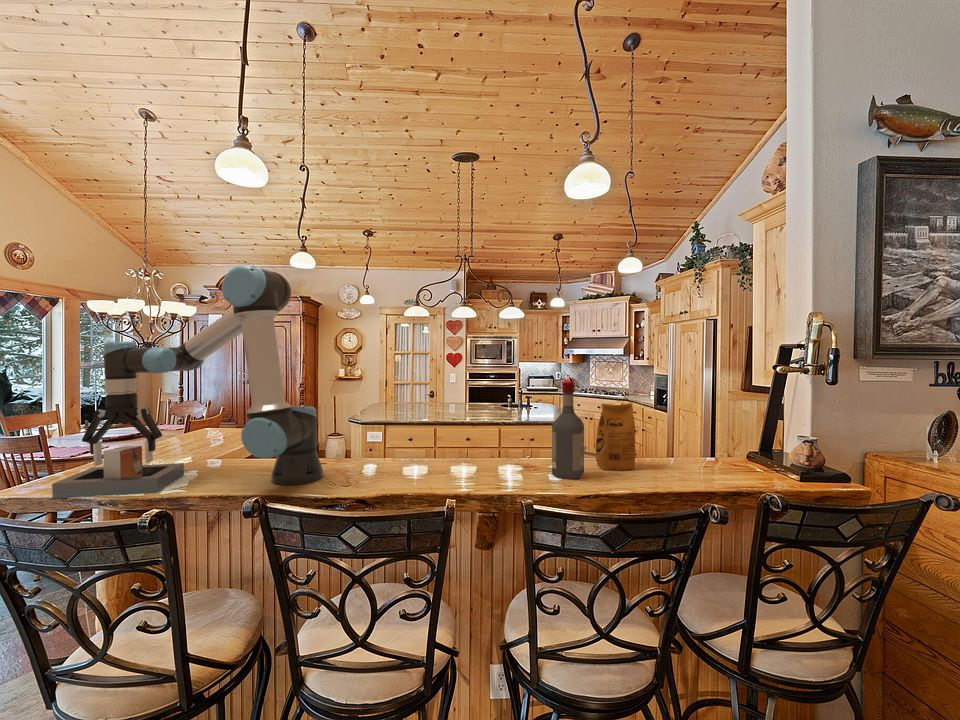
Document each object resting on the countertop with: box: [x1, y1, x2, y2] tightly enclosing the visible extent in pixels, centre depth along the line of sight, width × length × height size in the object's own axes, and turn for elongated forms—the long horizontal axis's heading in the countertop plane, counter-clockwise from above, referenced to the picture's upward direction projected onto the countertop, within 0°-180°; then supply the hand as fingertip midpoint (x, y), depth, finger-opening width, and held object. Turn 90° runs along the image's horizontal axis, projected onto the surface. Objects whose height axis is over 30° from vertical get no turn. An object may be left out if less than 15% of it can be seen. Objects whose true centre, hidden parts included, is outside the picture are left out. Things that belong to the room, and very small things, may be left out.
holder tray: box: [51, 462, 185, 499], centre depth 141 cm, size 26×18×4 cm
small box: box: [102, 444, 143, 479], centre depth 140 cm, size 8×6×10 cm
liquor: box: [551, 381, 585, 481], centre depth 150 cm, size 9×9×30 cm
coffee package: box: [595, 403, 636, 472], centre depth 160 cm, size 10×12×22 cm
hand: (123, 463), depth 140 cm, fingers open, 13 cm apart
